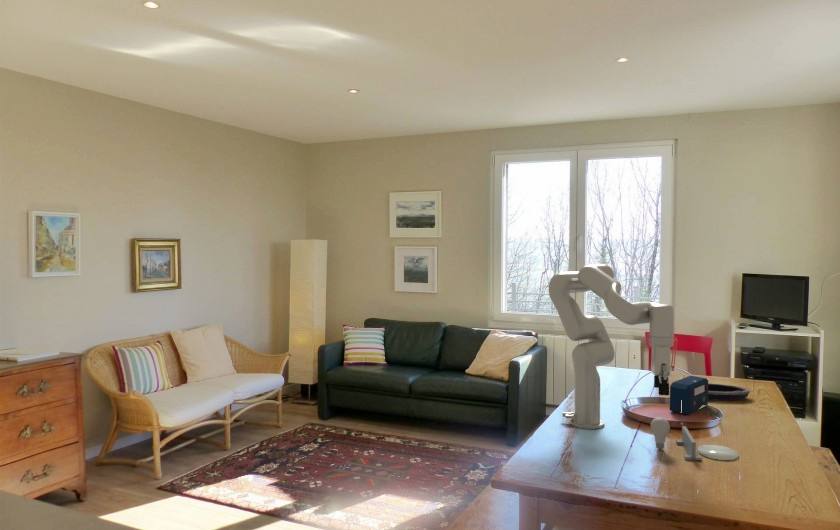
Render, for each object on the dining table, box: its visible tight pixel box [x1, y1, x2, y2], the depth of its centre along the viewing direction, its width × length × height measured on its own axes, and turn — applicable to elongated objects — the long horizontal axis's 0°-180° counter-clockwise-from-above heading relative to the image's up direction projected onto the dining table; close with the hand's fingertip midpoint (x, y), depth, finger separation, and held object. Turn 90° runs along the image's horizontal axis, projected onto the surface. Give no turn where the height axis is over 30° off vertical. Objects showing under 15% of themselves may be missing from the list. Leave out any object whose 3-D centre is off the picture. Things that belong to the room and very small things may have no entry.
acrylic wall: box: [675, 425, 703, 462], centre depth 198 cm, size 5×16×6 cm, turn 166°
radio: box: [669, 375, 709, 416], centre depth 244 cm, size 21×9×20 cm, turn 131°
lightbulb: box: [650, 416, 671, 451], centre depth 200 cm, size 6×6×11 cm
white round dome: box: [697, 444, 739, 461], centre depth 196 cm, size 12×12×1 cm
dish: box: [708, 383, 751, 401], centre depth 263 cm, size 16×31×5 cm, turn 73°
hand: (661, 391), depth 199 cm, fingers open, 9 cm apart
